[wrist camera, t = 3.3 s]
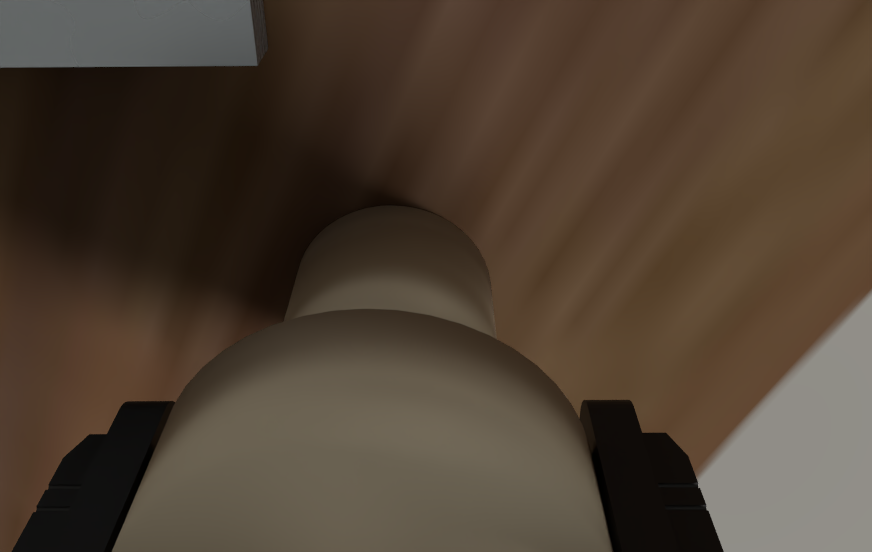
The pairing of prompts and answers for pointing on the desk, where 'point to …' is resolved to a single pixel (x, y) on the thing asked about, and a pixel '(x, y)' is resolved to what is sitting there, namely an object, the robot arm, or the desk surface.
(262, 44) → the block
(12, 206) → the desk surface
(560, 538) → the beech pin
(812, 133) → the desk surface
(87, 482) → the robot arm
